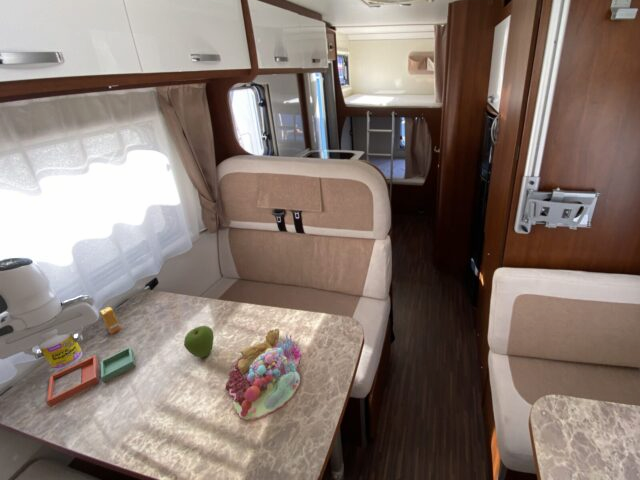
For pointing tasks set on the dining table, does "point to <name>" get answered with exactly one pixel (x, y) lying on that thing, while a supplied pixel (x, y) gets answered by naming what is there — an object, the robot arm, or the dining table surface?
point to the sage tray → (117, 364)
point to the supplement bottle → (60, 349)
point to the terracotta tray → (87, 380)
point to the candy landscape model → (264, 377)
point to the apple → (199, 341)
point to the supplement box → (110, 320)
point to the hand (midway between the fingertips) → (60, 348)
